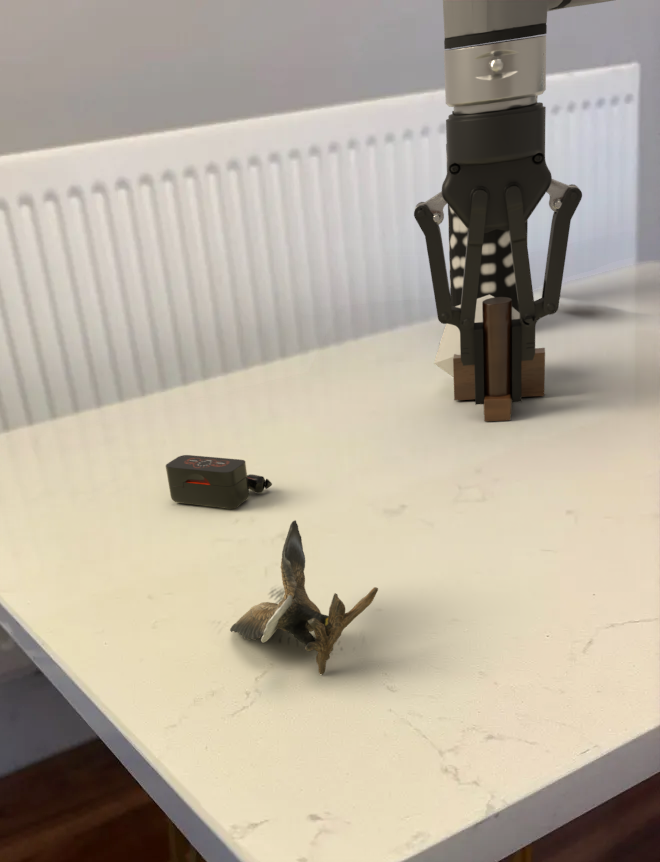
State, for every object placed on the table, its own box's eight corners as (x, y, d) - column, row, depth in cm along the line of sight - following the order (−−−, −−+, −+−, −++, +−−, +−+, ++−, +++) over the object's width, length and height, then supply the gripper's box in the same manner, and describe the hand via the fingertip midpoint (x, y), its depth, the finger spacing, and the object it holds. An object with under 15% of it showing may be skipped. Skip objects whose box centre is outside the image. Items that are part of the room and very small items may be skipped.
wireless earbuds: (243, 513, 79) (238, 474, 78) (168, 504, 83) (162, 466, 81) (273, 490, 82) (269, 452, 81) (199, 483, 86) (194, 446, 85)
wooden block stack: (545, 419, 88) (547, 302, 84) (450, 423, 91) (447, 309, 86) (544, 390, 95) (545, 280, 90) (455, 394, 97) (452, 287, 92)
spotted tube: (525, 317, 119) (526, 130, 110) (528, 335, 112) (529, 137, 103) (452, 323, 122) (447, 140, 112) (450, 341, 115) (444, 148, 105)
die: (547, 399, 95) (557, 296, 96) (477, 372, 91) (488, 264, 92) (480, 416, 102) (490, 320, 103) (412, 392, 98) (423, 292, 99)
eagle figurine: (408, 625, 58) (323, 549, 65) (354, 559, 53) (268, 484, 60) (312, 718, 59) (236, 633, 65) (249, 661, 54) (174, 575, 60)
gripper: (392, 122, 79) (407, 417, 89) (606, 93, 75) (595, 405, 85) (396, 115, 85) (410, 392, 96) (594, 88, 81) (585, 379, 92)
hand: (497, 397), depth 90 cm, fingers closed on wooden block stack, 2 cm apart
